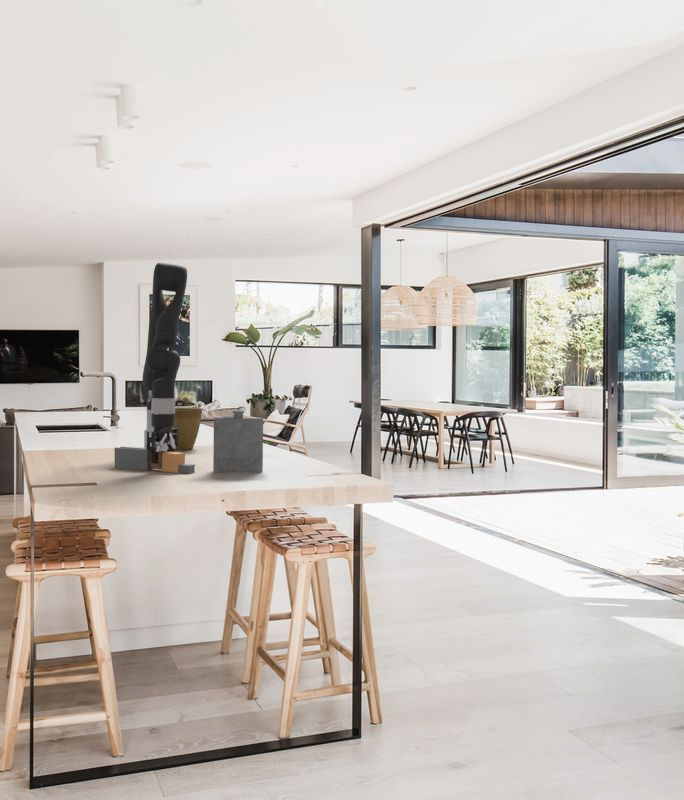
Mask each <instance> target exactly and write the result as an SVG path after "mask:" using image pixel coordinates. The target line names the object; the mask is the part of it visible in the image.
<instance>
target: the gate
mask: <svg viewBox="0 0 684 800" xmlns="http://www.w3.org/2000/svg"><path fill="white" fill-rule="evenodd" d="M158 452H159V462H158V463H157V464H153V463H152V461H151V451H149V470H161V471H162V453H164V452H167V451H158Z"/></svg>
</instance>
